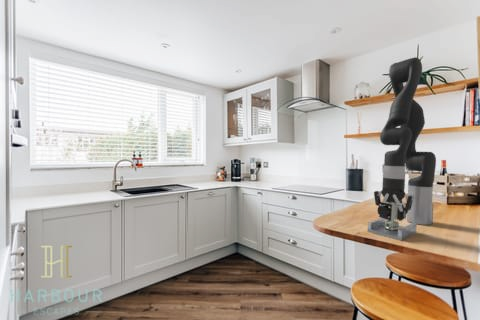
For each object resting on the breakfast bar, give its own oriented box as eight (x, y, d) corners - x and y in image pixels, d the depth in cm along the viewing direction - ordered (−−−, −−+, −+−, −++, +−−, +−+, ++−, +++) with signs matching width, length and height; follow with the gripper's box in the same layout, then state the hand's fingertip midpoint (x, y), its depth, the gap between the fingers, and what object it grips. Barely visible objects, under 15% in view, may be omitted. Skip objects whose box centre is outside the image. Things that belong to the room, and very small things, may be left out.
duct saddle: (384, 224, 106) (384, 216, 106) (416, 232, 96) (416, 223, 96) (367, 231, 96) (367, 222, 96) (401, 240, 86) (401, 230, 86)
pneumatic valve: (407, 229, 96) (409, 200, 95) (386, 232, 92) (388, 202, 91) (394, 225, 101) (395, 197, 100) (374, 227, 97) (375, 198, 96)
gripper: (418, 178, 92) (416, 221, 92) (378, 175, 103) (377, 213, 104) (411, 179, 87) (409, 224, 88) (370, 175, 99) (369, 215, 99)
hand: (391, 218), depth 96 cm, fingers closed on pneumatic valve, 5 cm apart
